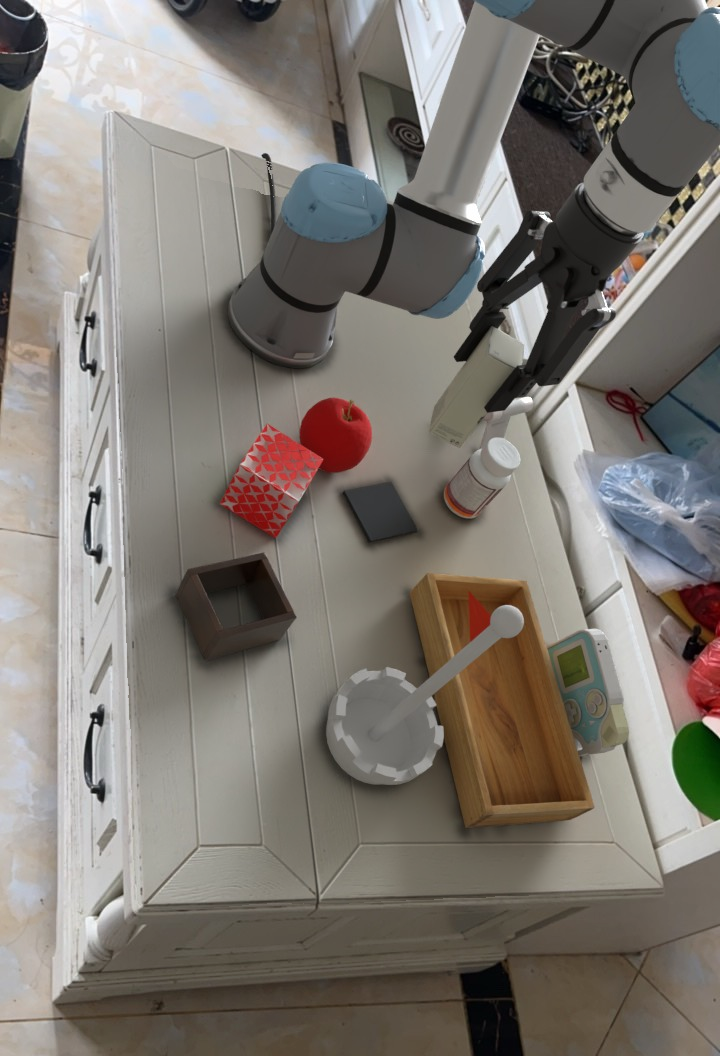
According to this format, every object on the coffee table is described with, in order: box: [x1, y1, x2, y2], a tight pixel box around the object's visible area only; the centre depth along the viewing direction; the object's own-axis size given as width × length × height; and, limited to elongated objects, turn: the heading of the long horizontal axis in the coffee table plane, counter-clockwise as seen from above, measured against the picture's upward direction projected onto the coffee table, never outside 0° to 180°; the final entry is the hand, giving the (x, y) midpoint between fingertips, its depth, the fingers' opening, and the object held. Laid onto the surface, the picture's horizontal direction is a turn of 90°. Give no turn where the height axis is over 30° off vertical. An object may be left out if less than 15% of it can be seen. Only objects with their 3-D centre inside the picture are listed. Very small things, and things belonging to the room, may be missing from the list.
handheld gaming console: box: [546, 628, 630, 757], centre depth 111 cm, size 11×3×15 cm
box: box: [428, 326, 525, 449], centre depth 97 cm, size 5×4×13 cm
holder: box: [174, 551, 297, 662], centre depth 97 cm, size 9×10×6 cm
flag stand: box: [325, 590, 524, 786], centre depth 88 cm, size 13×13×30 cm
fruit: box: [299, 397, 373, 474], centre depth 113 cm, size 9×9×10 cm
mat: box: [342, 481, 419, 544], centre depth 116 cm, size 8×8×1 cm
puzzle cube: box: [219, 423, 323, 539], centre depth 106 cm, size 8×8×8 cm
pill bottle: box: [443, 438, 521, 519], centre depth 120 cm, size 6×6×11 cm
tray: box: [409, 572, 596, 829], centre depth 107 cm, size 31×15×6 cm, turn 11°
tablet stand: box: [479, 396, 534, 449], centre depth 129 cm, size 9×8×8 cm
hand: (479, 383), depth 96 cm, fingers closed on box, 6 cm apart
